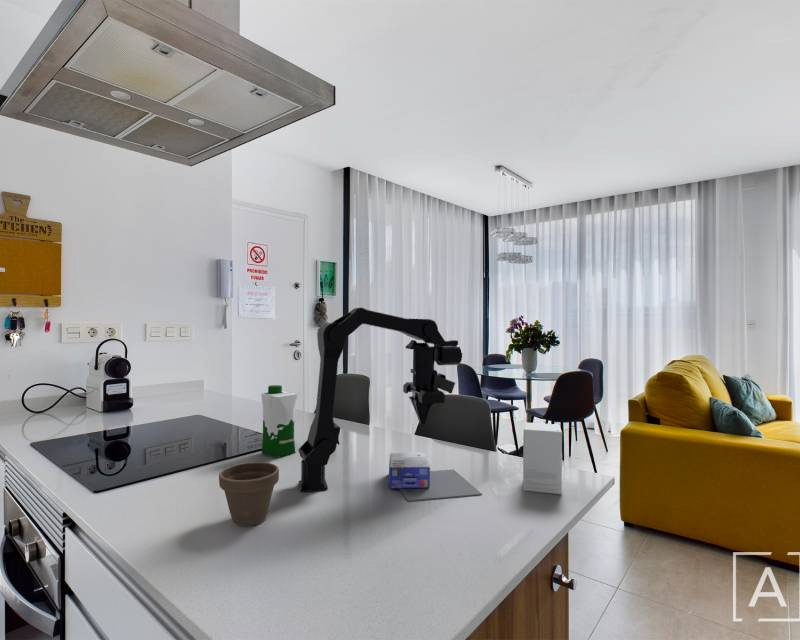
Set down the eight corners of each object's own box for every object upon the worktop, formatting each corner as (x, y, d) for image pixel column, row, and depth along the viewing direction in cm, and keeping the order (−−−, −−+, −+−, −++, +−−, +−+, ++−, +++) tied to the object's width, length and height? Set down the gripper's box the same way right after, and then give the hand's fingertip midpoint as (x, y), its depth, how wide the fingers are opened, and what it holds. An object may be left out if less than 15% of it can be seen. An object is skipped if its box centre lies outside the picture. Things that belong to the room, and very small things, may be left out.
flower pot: (215, 536, 87) (216, 482, 87) (220, 511, 98) (221, 463, 98) (279, 529, 90) (279, 477, 90) (277, 506, 101) (278, 459, 101)
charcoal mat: (481, 495, 109) (481, 493, 109) (408, 501, 104) (408, 500, 104) (453, 470, 126) (453, 469, 126) (389, 475, 122) (389, 474, 122)
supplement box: (559, 482, 119) (560, 423, 118) (562, 495, 110) (563, 431, 110) (522, 478, 121) (523, 421, 121) (522, 490, 112) (523, 428, 112)
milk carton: (280, 447, 146) (281, 383, 146) (300, 452, 141) (301, 386, 141) (257, 453, 139) (258, 386, 139) (276, 459, 134) (277, 390, 134)
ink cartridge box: (388, 473, 123) (389, 492, 109) (388, 452, 123) (389, 468, 109) (426, 473, 123) (431, 492, 109) (426, 452, 124) (431, 468, 109)
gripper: (465, 369, 117) (464, 431, 117) (440, 362, 135) (439, 415, 135) (423, 370, 114) (422, 433, 114) (403, 362, 132) (402, 417, 132)
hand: (422, 424), depth 124 cm, fingers closed
